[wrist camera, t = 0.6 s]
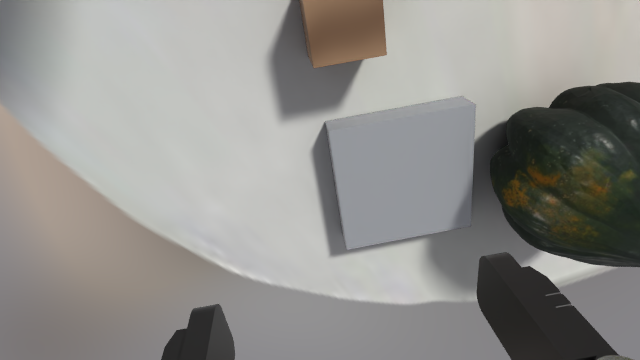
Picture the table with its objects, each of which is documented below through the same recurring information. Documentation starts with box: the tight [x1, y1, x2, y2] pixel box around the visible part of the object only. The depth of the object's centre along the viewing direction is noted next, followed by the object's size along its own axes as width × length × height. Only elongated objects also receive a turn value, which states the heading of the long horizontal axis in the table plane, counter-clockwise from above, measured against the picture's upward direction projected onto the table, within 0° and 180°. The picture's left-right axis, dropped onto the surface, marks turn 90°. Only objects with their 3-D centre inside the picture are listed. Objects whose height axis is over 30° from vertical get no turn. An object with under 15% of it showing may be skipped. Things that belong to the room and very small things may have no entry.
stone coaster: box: [325, 96, 476, 250], centre depth 34 cm, size 12×12×2 cm
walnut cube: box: [299, 0, 387, 68], centre depth 26 cm, size 5×5×5 cm
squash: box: [490, 82, 640, 267], centre depth 30 cm, size 14×15×15 cm
